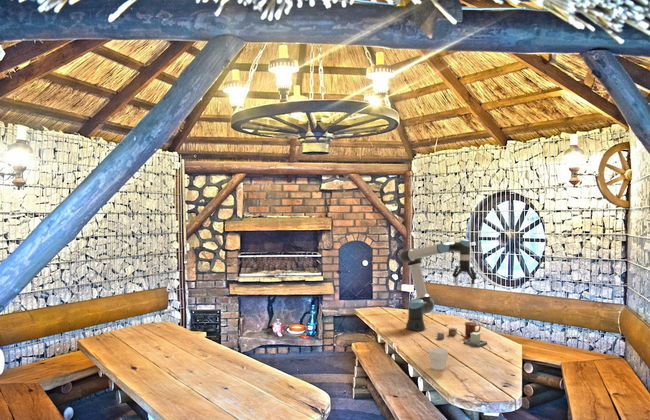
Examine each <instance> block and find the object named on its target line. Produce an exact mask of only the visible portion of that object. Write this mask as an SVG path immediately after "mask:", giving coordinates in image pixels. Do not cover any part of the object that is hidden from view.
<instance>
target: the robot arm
mask: <svg viewBox="0 0 650 420" xmlns="http://www.w3.org/2000/svg"><path fill="white" fill-rule="evenodd" d="M450 252H459V264H456V265H455V269H454V271H453V273H452V275H451V276H452V277H453V278H454V282H455V285H454V286H455V287H458V286H459V277H458V276H459V275H461V274H462V273H463V272H464V273H467V274H468V276H469V277H470V289H474V285H475V280H477V276H476V272H475V269H474V266H470V264H471V262H470V260H471V258H470V256H471V242H470V240H469V239H460V240H459V241H451V240H450V241H449V240H448V241H446V242H441V243H438V244H437V243H436V244H433V245H430V246H428V245H427V246H425V247H420V248H410V249H404V250H402V251H401V252H400V253H399V259H400V261H401V262H402V263H403V264H406V265H407V266H408V268H409V269H410V273H411V277H412V281H413V285H414V289H415V293H416V298H412V299H410V300H409V301H408V304H407V305H408V312H407V313H408V318H407V322H406V325H405V329H406V330H407V331H411V332H424V331H425V330H426V326H425V322H424V315H425V314H429V313H431V312H432V311H433V310H434V308H435V302H434V300H433V299H432V298H431V296H430V294H428V291H427V288H426V283H425V280H424V275H423V271H422V266H421V265H422V260H423V258H426V257H431V256H435V255H440V254H445V253H450Z"/></svg>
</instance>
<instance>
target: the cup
mask: <svg viewBox="0 0 650 420" xmlns="http://www.w3.org/2000/svg"><path fill="white" fill-rule="evenodd" d="M448 357H449V349H447V348H444V347H437V346H436V347H434V346H433V347H430V348H428V358H429V360H430V365H431V367H430V368H431V369H433V370H435V371H436V370H437V371H443V370H445V369H446V363H447V359H448Z"/></svg>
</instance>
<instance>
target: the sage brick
mask: <svg viewBox="0 0 650 420" xmlns="http://www.w3.org/2000/svg"><path fill="white" fill-rule="evenodd" d="M469 339H470V342H471V343H476V344H479V343H480V340H481V333H480V332H477V333H476V332H473V333H471V336H470V337H469Z"/></svg>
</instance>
